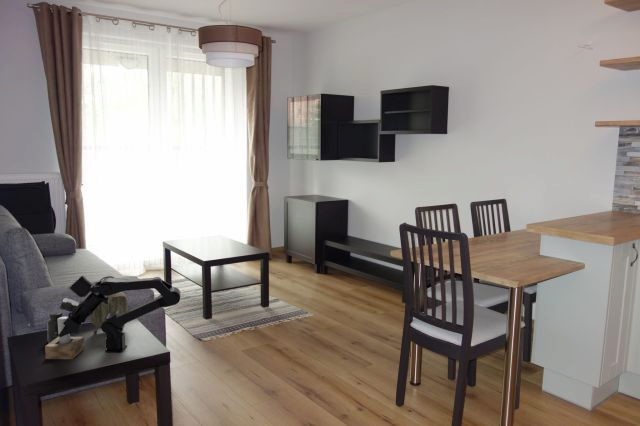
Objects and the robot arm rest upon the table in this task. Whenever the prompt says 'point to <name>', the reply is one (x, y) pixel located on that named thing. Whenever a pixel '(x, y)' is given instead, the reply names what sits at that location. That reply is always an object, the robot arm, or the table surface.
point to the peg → (65, 338)
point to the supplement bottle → (53, 325)
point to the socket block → (64, 348)
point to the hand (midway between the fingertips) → (60, 334)
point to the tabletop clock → (108, 308)
